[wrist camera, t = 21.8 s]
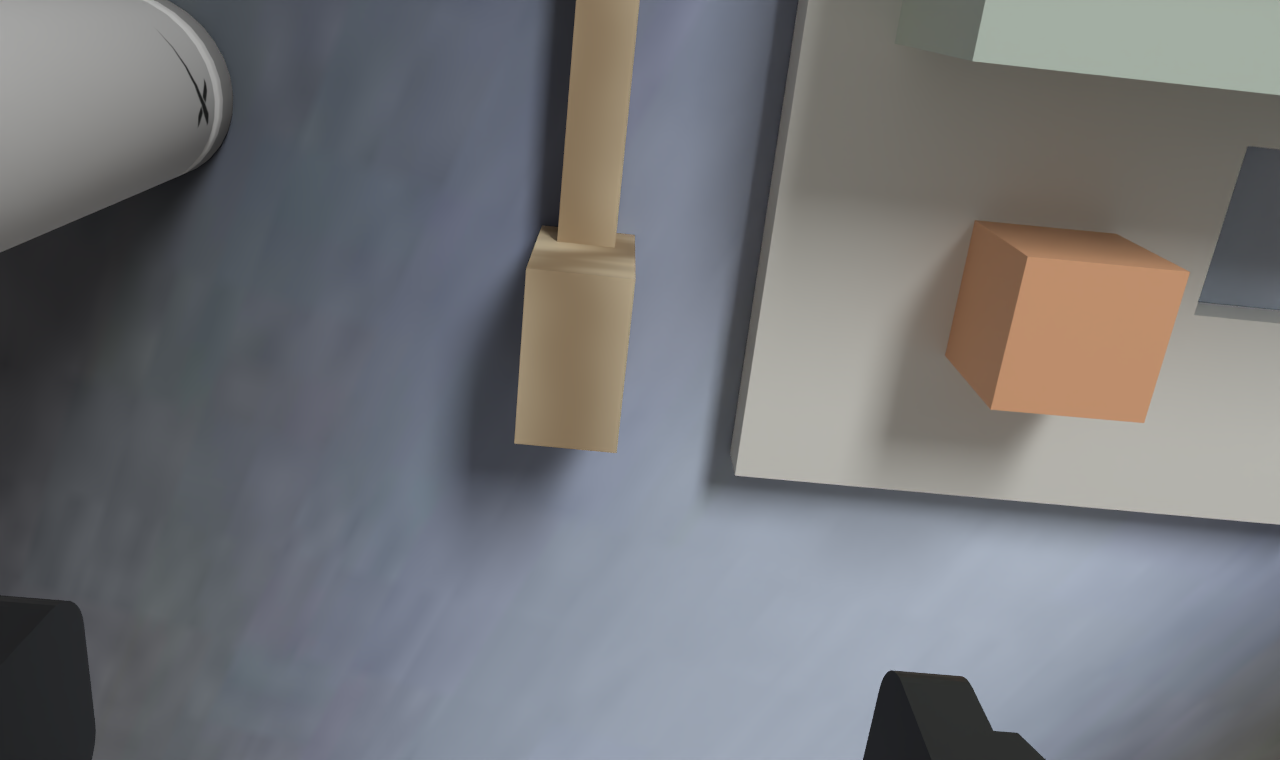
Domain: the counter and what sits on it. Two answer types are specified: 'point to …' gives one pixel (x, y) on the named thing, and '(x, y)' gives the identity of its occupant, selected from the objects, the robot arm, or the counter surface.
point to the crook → (583, 253)
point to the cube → (1063, 321)
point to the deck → (1017, 194)
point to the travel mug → (101, 106)
